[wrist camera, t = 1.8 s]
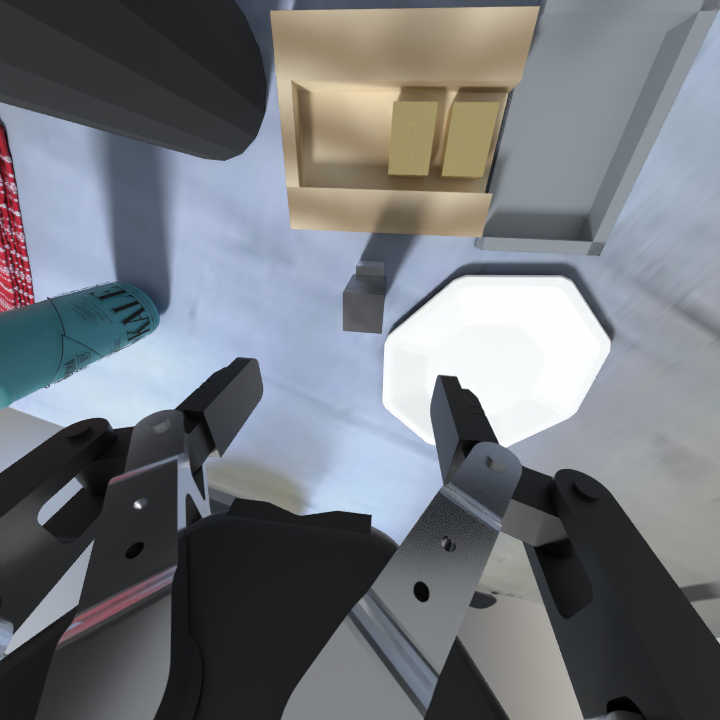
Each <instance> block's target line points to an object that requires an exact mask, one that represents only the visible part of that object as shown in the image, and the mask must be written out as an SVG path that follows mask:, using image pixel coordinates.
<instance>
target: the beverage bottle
mask: <svg viewBox="0 0 720 720" xmlns="http://www.w3.org/2000/svg"><path fill="white" fill-rule="evenodd" d="M107 283H110V282H107ZM101 285H102V284H101ZM87 288H88V287H87ZM89 288H90V287H89ZM84 289H86V288H84ZM76 291H78V292H75V291H74V292H75V293H71V292H70V293H71V294H67V293H68V292H67V293H66V294H67V295H63V293H62V295H63V296H59V294H58V296H59V297H55V296H54V297H55V298H51V297H50V298H51V299H49V298H48V297H47V298H48V299H47V300H44V301H41V302H38V303H34V304H31V305H27V306H23V307H19V308H15V309H11V310H7V311H3V312H0V410H1V409H3V408H6V407H8V406H9V405H10V404H12V403H13V402H15V401H17V400H19V399H21V398H23V397H25V396H27V395H29V394H31V393H33V392H35V391H37V390H39V389H41V388H49V387H50V384H52V383H53V384H54V382H55V383H56V381H57V380H59V379H61V378H63V377H64V378H65V376H66V377H67V378H68V377H69V374H70V376H71V373H72V375H73V372H75V371H76V372H78V370H79V369H80V371H81V369H82V368H84V367H85V368H87V367H86V366H87V365H89V364H91V363H93V362H95V361H97V360H99V359H100V360H101V358H103V357H105V356H107V355H109V356H110V353H112V352H113V353H114V352H115V353H116V352H117V351H119V350H121V349H120V348H122V347H124V346H126V345H128V344H130V343H131V345H132V342H133V344H134V343H136V342H137V341H138V339H140V338H142V337H144V336H146V335H148V334H149V335H150V334H151V333H152V332H153V331H154V330H155V329H156V328H157V327H158V325H159V320H160V318H159V313H158V310H157V308H156V306H155V304H154V303H153V301H152V300H151V299H150V298H149V296H148V295H147V294H145V293H144V292H143V291H142V290H140V289H139V288H137V287H135V286H133V285H131V284H127V283H120V282H119V283H118V282H116V283H110V284H106V285H102V286H98V285H97V286H95V287H94V286H93V287H92V288H90V289H86V290H82V291H79V290H76ZM149 335H148V336H149ZM134 341H135V342H134ZM129 346H130V345H129ZM124 348H125V347H124ZM124 348H122V349H124ZM116 350H117V351H116ZM113 353H112V354H113ZM107 357H108V356H107ZM105 358H106V357H105ZM82 370H83V369H82ZM74 374H75V373H74ZM67 375H68V376H67ZM64 378H63V380H64ZM65 379H66V378H65ZM60 381H62V379H61V380H59V381H57V382H60ZM46 386H49V387H46Z"/></svg>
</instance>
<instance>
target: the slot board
mask: <svg viewBox="0 0 720 720" xmlns="http://www.w3.org/2000/svg"><path fill="white" fill-rule="evenodd" d="M539 9H540V6H528V7H466V8H404V9H342V10H280V11H270V16H271V26H272V37H273V47H274V58H275V68H276V79H277V89H278V100H279V110H280V120H281V131H282V141H283V152H284V162H285V173H286V183H287V194H288V204H289V215H290V225H291V229H306V230H328V231H350V232H372V233H394V234H416V235H438V236H461V237H482V234H483V230H484V226H485V222H486V218H487V214H488V210H489V206H490V202H491V198H492V194H489V193H485V190H486V185H487V181H488V177H489V173H490V169H491V165H492V160H493V156H494V152H495V148H496V144H497V139H498V135H499V131H500V127H501V123H502V119H503V114H504V110H505V106H506V102H507V98H508V94H509V92H510V91H511V90H512V89H513V88H514V87H515V86H516V85H517V84H518V83H519V82H520V81H521V80H522V76H523V72H524V68H525V64H526V60H527V56H528V52H529V48H530V44H531V40H532V36H533V32H534V28H535V24H536V21H537V17H538V13H539ZM393 101H412V102H438V108H437V115H436V122H435V129H434V136H433V143H432V151H431V158H430V165H429V172H428V176H427V177H426V178H399V177H388V168H389V154H390V140H391V127H392V113H393ZM453 102H500V105H499V109H498V113H497V118H496V122H495V126H494V131H493V135H492V139H491V144H490V148H489V152H488V157H487V161H486V165H485V170H484V174H483V177H481V178H479V179H476V180H466V179H437V177H438V171H439V164H440V158H441V151H442V145H443V139H444V132H445V126H446V119H447V113H448V110H449V109H450V107H451V105H452V104H453Z"/></svg>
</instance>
